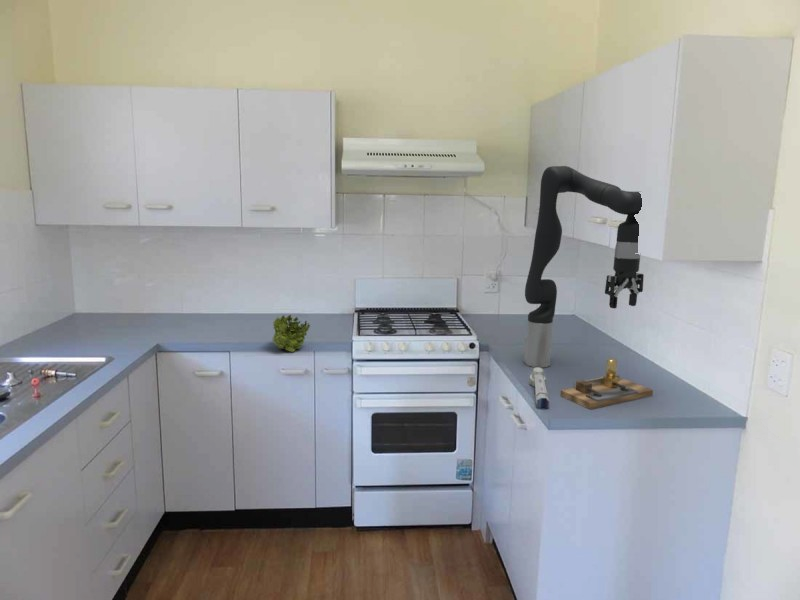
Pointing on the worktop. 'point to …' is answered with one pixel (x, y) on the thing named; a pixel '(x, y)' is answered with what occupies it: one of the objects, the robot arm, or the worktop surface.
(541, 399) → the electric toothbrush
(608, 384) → the gold l-shaped piece
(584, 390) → the brown block with stem
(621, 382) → the board
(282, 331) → the green bumpy lump
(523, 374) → the worktop surface
